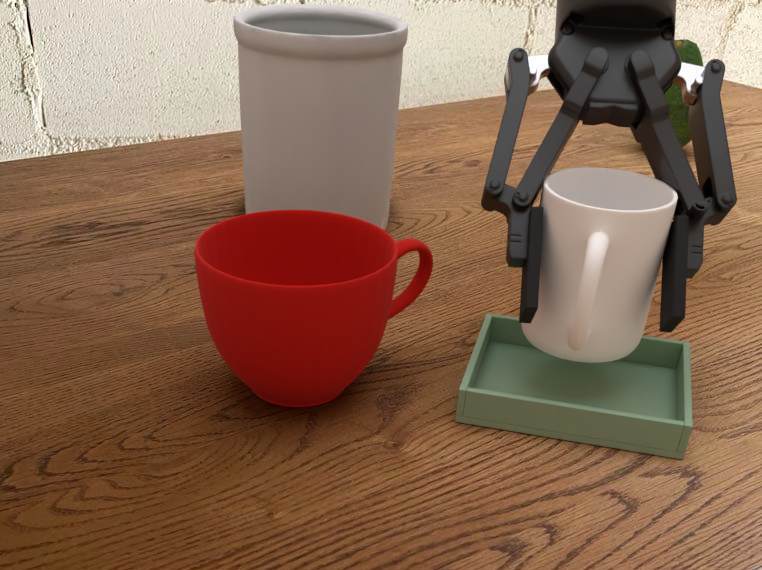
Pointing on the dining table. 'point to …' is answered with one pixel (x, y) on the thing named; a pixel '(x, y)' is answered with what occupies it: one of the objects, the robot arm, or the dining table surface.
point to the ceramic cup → (301, 298)
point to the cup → (598, 261)
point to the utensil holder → (319, 108)
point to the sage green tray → (579, 392)
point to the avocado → (674, 94)
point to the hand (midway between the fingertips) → (599, 320)
